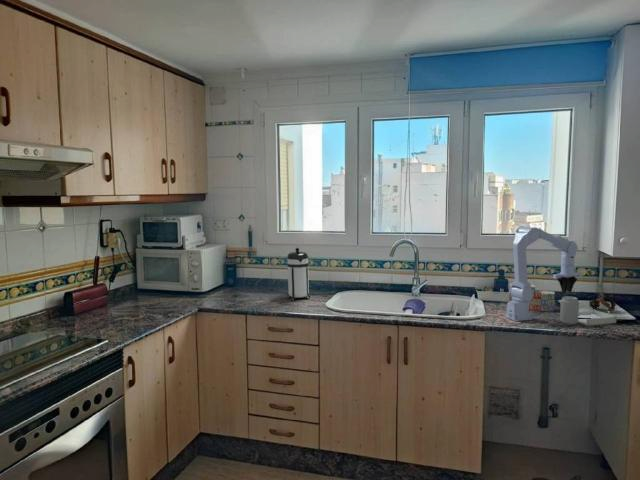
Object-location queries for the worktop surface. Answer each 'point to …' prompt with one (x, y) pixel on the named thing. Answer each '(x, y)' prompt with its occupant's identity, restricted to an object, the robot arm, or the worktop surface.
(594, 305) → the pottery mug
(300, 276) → the coffee press
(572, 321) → the can
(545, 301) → the stack of blocks
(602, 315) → the tray
